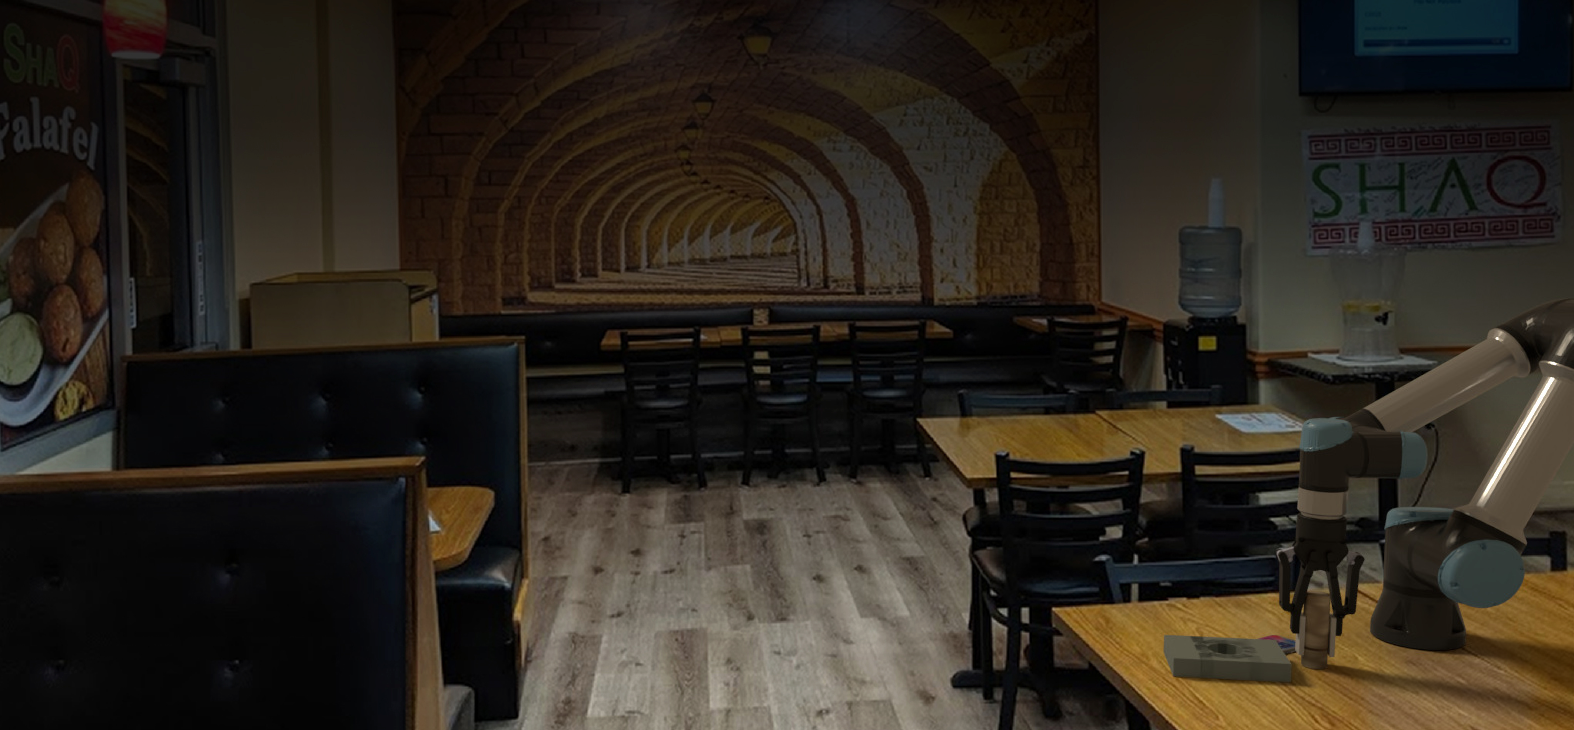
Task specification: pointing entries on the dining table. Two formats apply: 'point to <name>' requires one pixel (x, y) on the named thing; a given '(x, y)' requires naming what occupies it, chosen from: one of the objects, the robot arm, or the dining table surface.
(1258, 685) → the dining table surface
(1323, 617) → the peg
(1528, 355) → the robot arm
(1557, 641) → the dining table surface
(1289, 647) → the smartphone
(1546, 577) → the dining table surface
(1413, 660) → the dining table surface
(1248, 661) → the board
